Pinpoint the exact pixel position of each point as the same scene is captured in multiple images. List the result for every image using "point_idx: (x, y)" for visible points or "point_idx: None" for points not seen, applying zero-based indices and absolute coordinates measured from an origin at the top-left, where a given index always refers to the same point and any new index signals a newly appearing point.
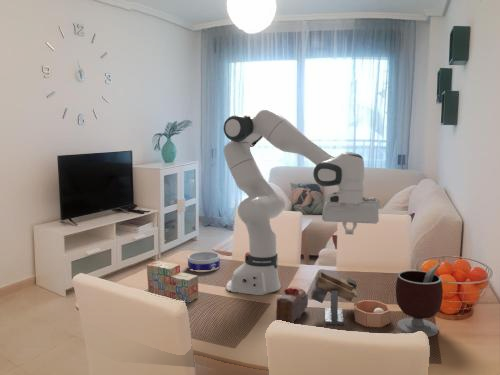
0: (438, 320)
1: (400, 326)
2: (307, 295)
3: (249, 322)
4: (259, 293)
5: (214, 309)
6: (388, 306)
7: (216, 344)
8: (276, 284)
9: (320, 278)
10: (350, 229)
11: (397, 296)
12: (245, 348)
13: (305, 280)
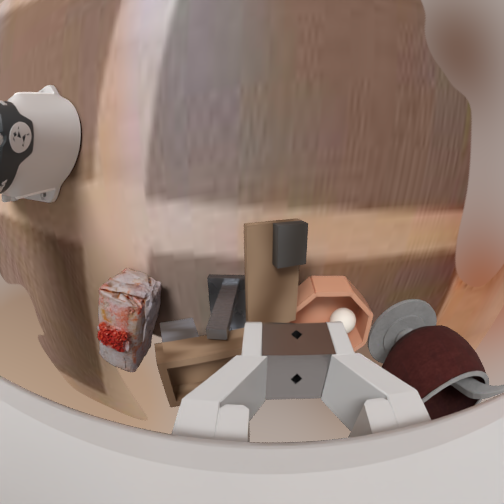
0: (452, 293)
1: (372, 343)
2: (151, 301)
3: (84, 332)
4: (48, 202)
5: (23, 282)
6: (370, 323)
7: (83, 384)
8: (64, 156)
9: (175, 404)
10: (309, 382)
11: None
12: (117, 397)
13: (143, 49)
